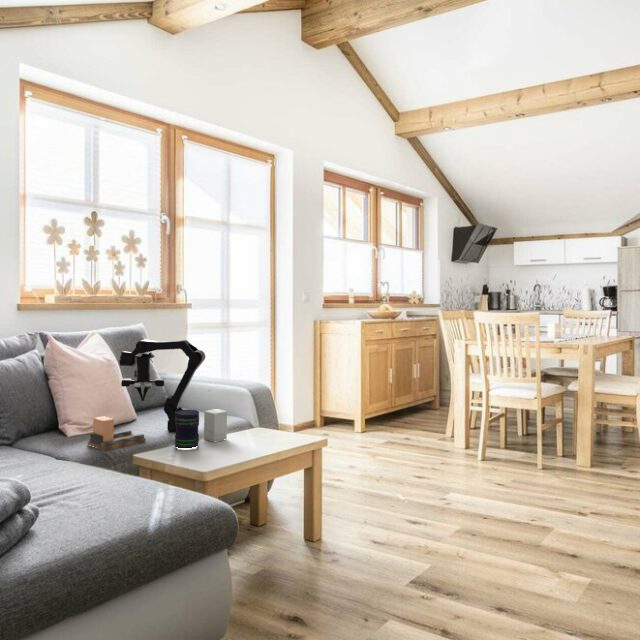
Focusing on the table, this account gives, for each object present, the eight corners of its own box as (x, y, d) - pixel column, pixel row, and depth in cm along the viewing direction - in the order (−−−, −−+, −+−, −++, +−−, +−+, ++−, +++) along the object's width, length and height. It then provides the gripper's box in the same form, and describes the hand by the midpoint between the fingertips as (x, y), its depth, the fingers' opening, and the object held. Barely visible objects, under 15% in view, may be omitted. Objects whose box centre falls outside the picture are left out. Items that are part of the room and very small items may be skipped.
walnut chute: (128, 436, 285) (128, 424, 284) (145, 441, 277) (145, 429, 277) (87, 445, 269) (87, 432, 269) (104, 451, 262) (104, 437, 261)
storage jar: (169, 448, 268) (170, 413, 267) (183, 443, 277) (183, 408, 276) (190, 451, 265) (191, 415, 263) (203, 446, 274) (204, 411, 272)
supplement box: (227, 439, 285) (227, 411, 284) (213, 442, 280) (214, 413, 279) (216, 436, 290) (217, 408, 289) (203, 439, 285) (203, 410, 284)
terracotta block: (103, 439, 272) (103, 416, 271) (113, 442, 268) (113, 419, 267) (93, 441, 268) (93, 418, 267) (102, 445, 264) (102, 420, 263)
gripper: (165, 364, 306) (164, 397, 307) (123, 364, 302) (123, 397, 303) (164, 368, 295) (163, 402, 296) (121, 368, 291) (120, 402, 292)
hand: (142, 401), depth 297 cm, fingers closed
